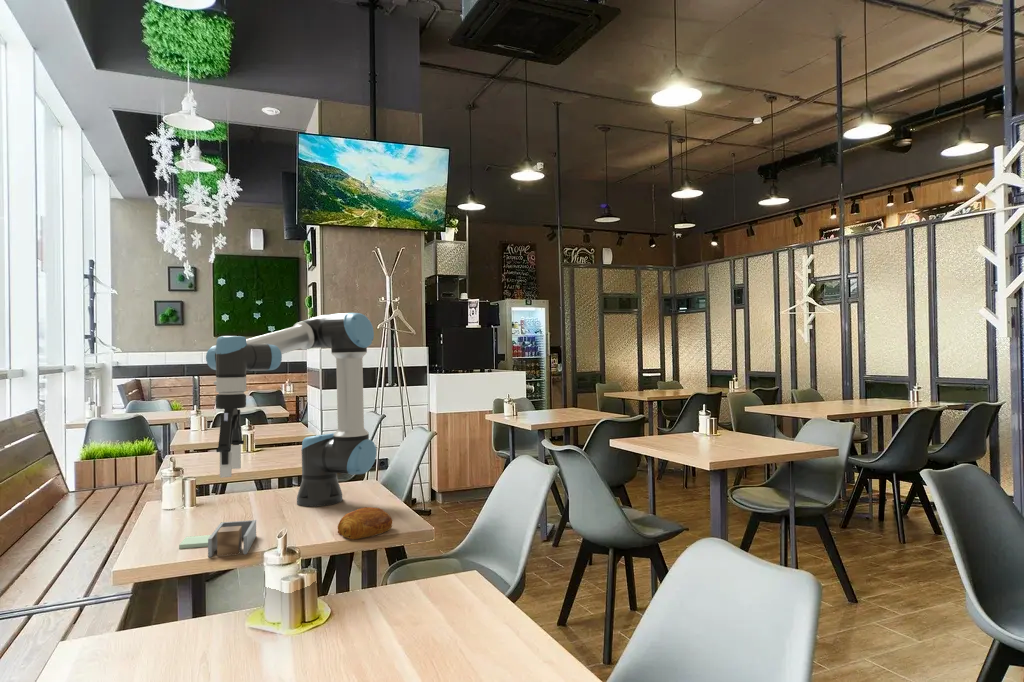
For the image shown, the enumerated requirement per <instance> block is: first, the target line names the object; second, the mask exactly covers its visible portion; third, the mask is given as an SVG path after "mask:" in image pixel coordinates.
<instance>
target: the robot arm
mask: <svg viewBox="0 0 1024 682" xmlns="http://www.w3.org/2000/svg"><path fill="white" fill-rule="evenodd" d="M374 337H375V331H374V327H373V323H372V321H371V320H370V319H369V317H368V316H366V315H365V314H363V313H360V312H345V313H343V312H342V313H326V314H325V313H324V314H320V315H318V316H317V315H316V316H314V317H311V318H308V319H304V320H302V321H299V322H298V321H297V322H296V323H294V324H293V326H291V327H286V328H284V329H281V330H276V331H273V332H268V333H265V334H262V335H257V336H254V337H250V338H247V337H246V336H241V335H238V336H237V335H221V336H218V337H217V338H216V344H215V345H212V346H211V347H209V349H207V352H206V355H205V360H206V365H208V368H210V369H211V370H214V371H215V380H214V381H213V385H214V386H215V392H216V393H218V394H216V395H215V408H216V409H219V410H220V409H223V411H224V412H221V414H220V427H219V435H218V436H219V437H218V446H217V448H216V451H215V452H216V453H219V478H231V477H232V470H235V469H241V468H242V455H241V454H242V445H244V444H245V441H244V439H243V432H242V431H243V430H242V422H241V409H244V408H246V406H247V394H245V392H247V371H250V372H253V371H256V372H259V371H260V372H261V371H264V372H268V371H274V370H276V369H278V368H279V367H280V365H281V364H282V355H283V354H287V353H289V352H294V351H296V350H299V349H300V350H303V351H307V350H310V349H319V348H320V349H322V348H323V349H324V348H325V349H327V348H329V349H331V355H332V356H334V358H335V359H336V360H335V361H336V362H335V363H336V367H335V368H336V399H337V400H336V404H337V405H336V408H337V409H336V410H337V413H336V414H337V415H336V416H337V430H336V431H335V432H334V433H326V434H317V435H311V436H305V437H304V438H303V440H302V441H301V442H302V443H301V445H302V446H301V483H300V486H299V489H298V492H297V496H296V504H297V505H298V506H303V507H324V506H330V505H336V504H339V503H341V502H342V501H343V492H342V489H341V486H340V483H339V480H338V474H346V475H347V474H348V475H352V476H355V475H363V474H366V473H367V472H369V471H370V470H371V469H372V467H373V465H374V464H375V461H376V459H377V445H376V444H375V442H374V441H373V440H372V439H370V437H369V435H370V434H369V432H368V431H367V430H366V429H365V422H364V421H365V419H364V417H365V414H364V373H363V372H364V371H363V368H364V367H363V366H364V365H363V357H364V356H365V355H366V354H367V353H368V352H367V351H368V350H367V349H368V347H370V346H371V345H372V343H373V341H374Z"/></svg>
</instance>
